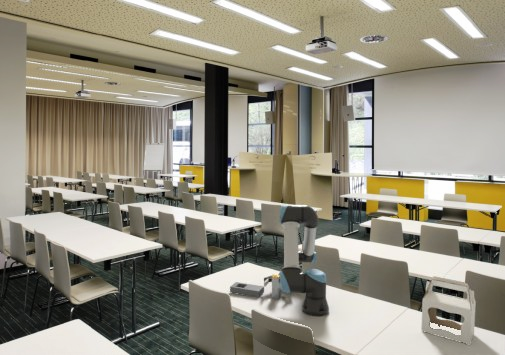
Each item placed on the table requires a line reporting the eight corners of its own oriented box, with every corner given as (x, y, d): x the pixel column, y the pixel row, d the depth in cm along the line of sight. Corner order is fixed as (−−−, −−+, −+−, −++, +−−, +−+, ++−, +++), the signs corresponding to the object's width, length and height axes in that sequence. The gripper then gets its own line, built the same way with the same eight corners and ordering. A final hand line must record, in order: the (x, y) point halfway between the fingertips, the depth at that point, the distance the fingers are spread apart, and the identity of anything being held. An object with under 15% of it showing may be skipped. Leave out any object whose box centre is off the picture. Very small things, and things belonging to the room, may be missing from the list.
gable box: (420, 331, 193) (422, 278, 191) (427, 321, 203) (429, 271, 201) (470, 345, 179) (473, 288, 177) (474, 334, 190) (477, 280, 187)
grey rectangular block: (263, 292, 244) (263, 286, 243) (258, 297, 236) (258, 291, 235) (236, 287, 251) (235, 282, 251) (230, 292, 243) (230, 286, 243)
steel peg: (280, 296, 237) (280, 275, 236) (278, 299, 233) (278, 277, 232) (274, 295, 239) (274, 274, 238) (271, 298, 235) (271, 276, 233)
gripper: (303, 283, 247) (294, 295, 228) (267, 278, 257) (256, 289, 237) (303, 272, 247) (294, 283, 227) (267, 267, 256) (256, 277, 237)
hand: (274, 286), depth 232 cm, fingers open, 13 cm apart
